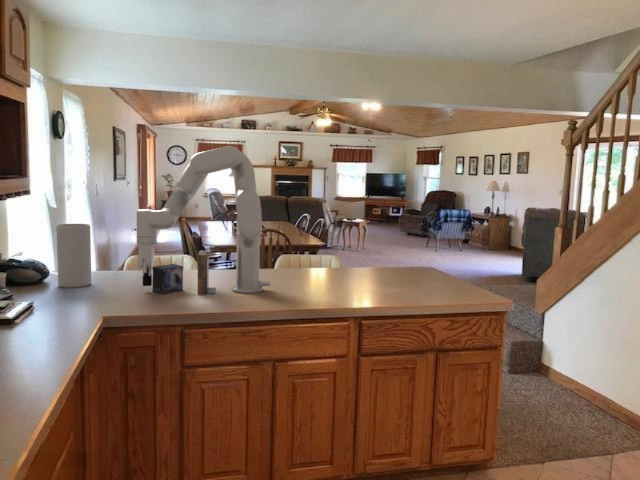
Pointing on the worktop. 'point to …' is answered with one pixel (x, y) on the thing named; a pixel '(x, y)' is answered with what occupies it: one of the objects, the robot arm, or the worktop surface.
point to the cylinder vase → (73, 255)
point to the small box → (167, 278)
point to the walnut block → (201, 271)
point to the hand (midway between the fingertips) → (147, 285)
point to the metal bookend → (207, 289)
